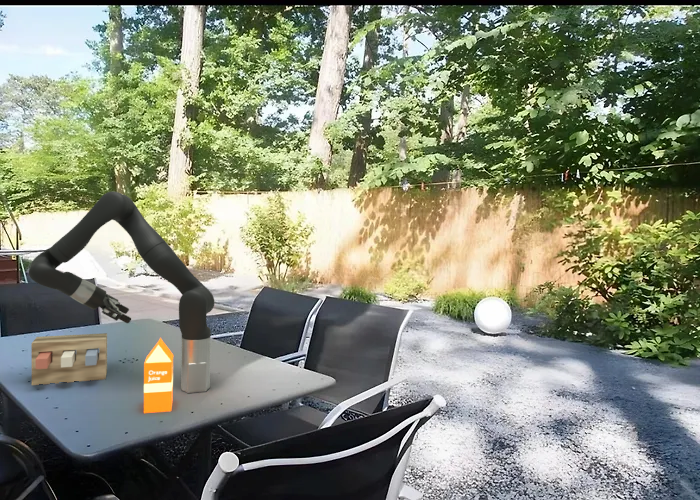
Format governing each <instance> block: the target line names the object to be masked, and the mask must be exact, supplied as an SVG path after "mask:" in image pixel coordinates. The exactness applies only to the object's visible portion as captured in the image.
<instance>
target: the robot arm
mask: <svg viewBox="0 0 700 500" xmlns="http://www.w3.org/2000/svg"><path fill="white" fill-rule="evenodd" d="M111 221H114V222H116V223H118V225H119V226H121V228H122V229H123V230H124V231H125V232H127V234H128V235H129V237H130V238H131V240H132V242H133V245H134V247H135V248H136V251H137V253H138V255H139V256H140V258H141V259H142V260H143V261H144V262H145V263H146V265H147V266H148V267H149V269H151V270H152V271H153V272H154V273H155V274H156V275H158V276H159V277H161V278H162V279H164V280H165V281H167V282H168V283H169V284H171V285H173V286H174V287H175V289H177V290H178V292H179V293H180V294H181V296H180V298H179V302H178V326H179V330H180V333H181V350H180V351H181V353H180V354H181V356H180V357H181V358H180V363H181V364H180V390H181V391H183V392H186V393H187V394H192V393H201V392H207V390H209V389H210V387H211V340H212V339H211V335H212V334H211V333H212V332H211V328H210V327H209V326H208V322H207V314H208V313H210V312H211V311H212V310H213V309H214V307H215V298H214V295H213V293H212V292H211V290H210V289H208V288H207V287H206V286H205V284H203V283H202V282H201V281H200V280H199V279H198V278H197V277H196V276H195V274H193V273H192V272H191V270H189V268H188V267H187V266H186V264H185V263H184V262H183V261H182V259H181V258H180V257H179V256H178V255H177V253H176V252H175V251H174V249H173V248H172V247H171V246H170V245H169V244H168V242H166V240H165V239H164V238H163V237H162V236H161V234H159V233H158V232H157V231H156V230H155V229H154V227H152V225H150V223H148V221H147V220H146V219H145V217H144V216H143V214H142V213H141V211H140V210H139V208H138V206H137V205H136V204H135V202H134V200H133V199H131V198H130V197H129V196H127V195H125V194H124V193H120V192H119V191H108V192H106V193H104V194H103V195H101V197H100V198H99V199H98V200H97V201H96V203H94V205H93V206H92V208H90V209H89V211H88V212H87V213H86V214H85V215H84V216H83V218H81V220H80V221H78V223H76V224H75V226H73V227H72V228H71V229H70V230H69V231H68V232H67V233H66V234H64V235H63V236H62V237H61V238H59V239H58V240H57V241H56V242H55V243H54V244H53V245H52V246H51V247H48V248H47V249H45V250H44V251H42V252H40V253H39V254H38V255H37V256H35V257H34V258H33V259H32V260H31V263H30V266H29V269H28V276H29V277H30V280H32V281H33V282H35V283H36V284H38V285H40V286H44V287H46V288H50V289H52V290H53V289H54V290H57V291H59V292H61V293H63V294H64V295H67V296H68V297H70V298H72V299H73V300H75V301H76V302H78V303H80V304H82V305H83V306H86V307H88V308H90V309H91V310H96V309H98V308H100V309H101V313H102V314H103V315H105V316H107V317H109V318H110V319H113V320H114V321H118V320H120V321H122V322H124V323H126V324H129V323H130V322H131V321H132V317H130V316H128V315H126V314H128V312H129V311H130V309H129V308H128V307H127V306H125V305H123V304H122V303H121V301H119V299H117V298H115V297H113V296H112V295H110V294H108V293H107V291H106V290H104V289H103V288H101V287H99V286H98V285H96V284H94V283H92V282H90V281H88V280H86V279H84V278H82V277H80V276H78V275H76V274H75V273H73V272H70V271H64V272H63V271H60V270H58V269H57V268H58V267H59V266H61V264H64V263H68V262H70V261H71V260H72V259H73V258H74V257H75V256H77V255H78V254H79V253H80V252H82V251H83V250H84V249H85V248H86V247H87V245H88V244H89V243H90V242H91V240H92V238H93V237H94V235H95V234H96V233H97V231H99V230H100V229H101V228H102V227H103V226H104V225H107V223H108V222H111Z"/></svg>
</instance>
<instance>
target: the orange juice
mask: <svg viewBox="0 0 700 500" xmlns="http://www.w3.org/2000/svg"><path fill="white" fill-rule="evenodd" d="M174 357H175V356H174V353H172V351H171V349H170V348H169V347H168V346H167V345H166V343H165V342H164V341H163V339H162V337H159V339H158V341H157V342H156V343H155V345H154V346H153V348H152V349H151V350H150V351H149V353H148V355H146V358H145V360H144V363H143V414H150V413H151V414H152V413H165V412H172V409H173V408H172V407H173V401H174V400H173V398H174V394H173V393H174V391H173V390H174V389H173V388H174Z"/></svg>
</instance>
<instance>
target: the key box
mask: <svg viewBox="0 0 700 500" xmlns="http://www.w3.org/2000/svg"><path fill="white" fill-rule="evenodd" d="M30 347H31V350H30V351H31V386H39V384H43V385H51V384H50V383H55V384H60V383H59V382H67V383H75V382H74V381H79V382H87V381H89V382H90V380H91V381H99V380H100V381H101V380H103V381H104V380H106V379H107V372H108V332H105V333H86V334H85V333H84V334H65V335H49V336H47V335H45V336H36V337H35V338H34V339H33V341H32V342H31V346H30ZM96 348H99V355H98V360H97V364H96V365H89V366H85V356H86V353H87V350H88V349H96ZM65 350H76V359H75V361H74V364H73V366H72V367H61V357H62V355H63V353H64V351H65ZM47 351H52V361H51V363H50V365H49V366H48V368H47V369H36V358H37V357H38V355H39V354H40V352H47Z"/></svg>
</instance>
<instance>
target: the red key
mask: <svg viewBox="0 0 700 500" xmlns="http://www.w3.org/2000/svg"><path fill="white" fill-rule="evenodd" d="M51 361H52V351H47V352H40V354H39V355H38V357H37V358H36V369H47V368H48V366H49V365H50V363H51Z"/></svg>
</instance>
